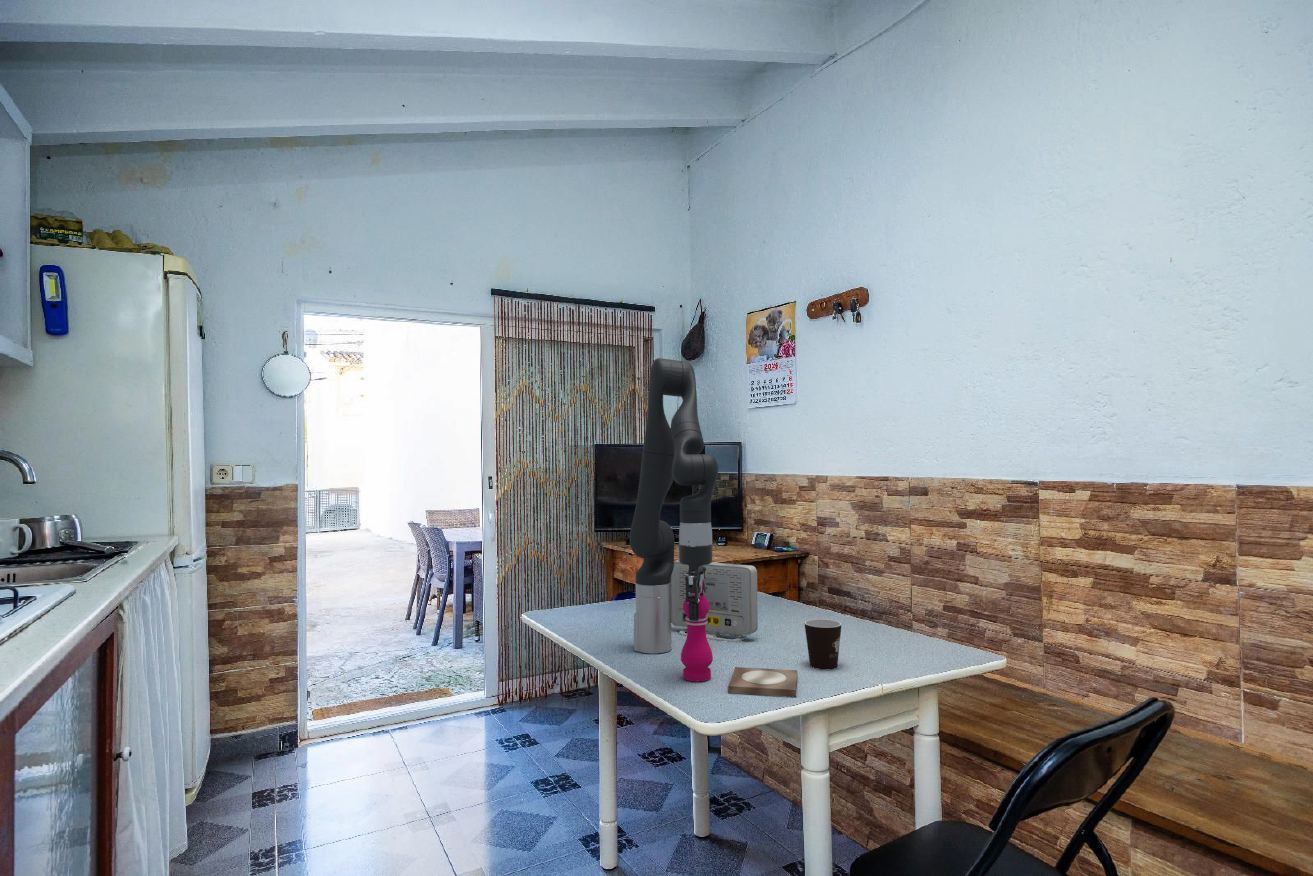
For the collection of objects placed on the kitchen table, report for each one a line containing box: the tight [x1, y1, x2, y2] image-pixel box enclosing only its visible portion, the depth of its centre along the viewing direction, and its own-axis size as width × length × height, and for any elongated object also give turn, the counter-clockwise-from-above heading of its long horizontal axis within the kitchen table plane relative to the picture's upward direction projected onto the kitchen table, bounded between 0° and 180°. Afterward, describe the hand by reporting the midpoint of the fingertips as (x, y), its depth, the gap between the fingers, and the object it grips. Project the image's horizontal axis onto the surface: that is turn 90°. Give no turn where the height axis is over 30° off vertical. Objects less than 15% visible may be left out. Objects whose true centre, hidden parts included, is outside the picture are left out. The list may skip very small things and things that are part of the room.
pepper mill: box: [680, 593, 714, 682], centre depth 162 cm, size 7×7×20 cm
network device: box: [671, 560, 759, 643], centre depth 200 cm, size 26×9×20 cm, turn 58°
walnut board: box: [727, 666, 798, 698], centre depth 156 cm, size 14×14×2 cm
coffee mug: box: [804, 618, 843, 670], centre depth 171 cm, size 12×9×10 cm
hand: (696, 616), depth 162 cm, fingers closed on pepper mill, 6 cm apart
